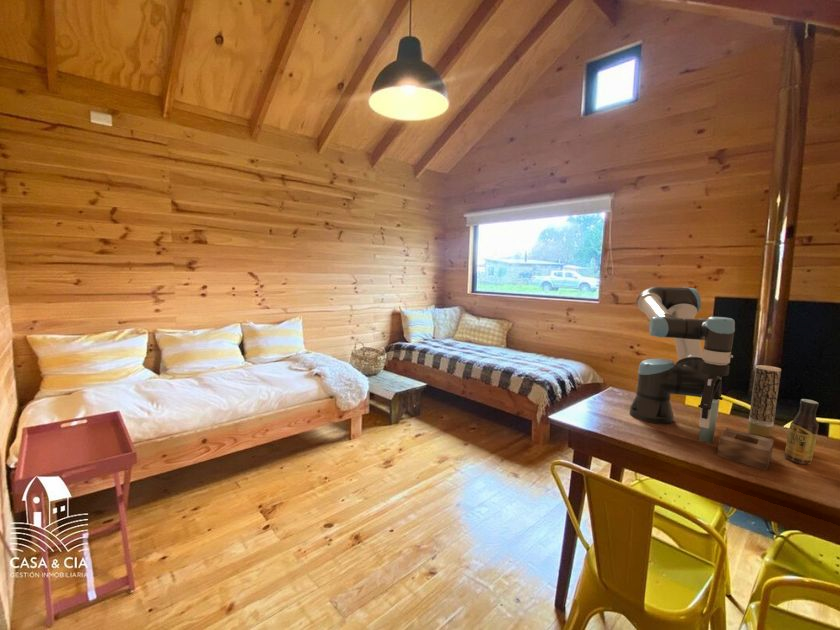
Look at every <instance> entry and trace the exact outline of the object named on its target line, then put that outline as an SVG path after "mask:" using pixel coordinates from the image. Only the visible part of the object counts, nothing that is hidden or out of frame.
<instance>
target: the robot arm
mask: <svg viewBox="0 0 840 630" xmlns="http://www.w3.org/2000/svg"><path fill="white" fill-rule="evenodd" d="M701 300H702V297H701V295H700V292H699V291H698V290H697V289H696V288H693V287H686V286H683V287H681V286H680V287H679V286H678V287H676V286H652V287H648V288H646V289H644V290H642V291H641V292H640V293H639V294H638V295H637V298H636V301H635V302H636V306H637V308H638V310H639V311H641V312H642V313H644V314H645V315H646V317H647V318H648V320H649V321H648V332H649V335H650V336H652V337H657V338H668V339H674V344H675V349H676V355H677V360H676V361H675V362H674V361H673V360H671V359H664V358H647V359H644V360H641V362H640V363H639V366H638V371H637V375H638V376H637V383H636V395H635V396H634V399H633V401H632V403H631V404H630V407H629V414H630V415H631V416H632V417H633V418H635V419H637V420H641V421H642V422H643V421H644V422H648V423H652V424H660V425H669V424H672V423H673V421H674V417H675V416H674V412H673V409H672V404H671V395H678V396H689V397H696V398H699V399H700V398H701V399H700V404H698V405H697V406H698V408H699V409H700V411H699V420H698V427H704V428H708V429H709V424H710V416H711V405H712V401H715V402H717V403H718V408H717V416H716V419H718V415H719V408H720V401H723V396H722V382H723V381H722V379H723V377H727V376H729V374H730V365H729V364H730V363H731V359H733V358H734V355H733V354H732V349H733V343H734V336H735V331H736V328H735V327H736V326H735V325H736V324H735V323H736V322H735V319H733V318H731V317H724V316H710V317H708V318H703V317H702V318H695V317H696V316H697V315H698V313H700V310H701V306H702V302H701ZM701 341H704V344H703V348H702V344H701ZM704 404H706V405H704Z"/></svg>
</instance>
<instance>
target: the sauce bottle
mask: <svg viewBox="0 0 840 630" xmlns="http://www.w3.org/2000/svg"><path fill="white" fill-rule="evenodd" d="M819 403H820V402H817V401H815V400H813V399H807V398H801V399H800V402H799V410H798V412H797V413H796V415H795V417H793V420H792V421H791V423H790V424H789V430H788V435H787V440H786V444H785V445H786V446H785V449H784V457H785V458H786V459H787V460H789V461H791V462H793V463H795V464H799V465H810V464H811V463H812V460H813V457H814V452H815V449H816V448H815V447H816V443H817V440H818V439H817V438H818V434H819V433H818V431H819V427H820V424H819V421H818V420H817V411H818V408H819V406H820V405H819Z"/></svg>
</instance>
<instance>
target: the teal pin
mask: <svg viewBox="0 0 840 630" xmlns="http://www.w3.org/2000/svg"><path fill="white" fill-rule="evenodd" d="M704 405H706V404H704ZM717 408H718V403H717V402H715V401H712V405H711V416H710V424H709V429H708V428H704V427H700V426H699V427H700V428H699V433H698V434H699V435H698V440H700V441H701V442H704V443H707V444H713V443H714V438H715V431H716V430H715V429H716V421H717V418H716V416H717Z"/></svg>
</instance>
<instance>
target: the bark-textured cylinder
mask: <svg viewBox="0 0 840 630" xmlns="http://www.w3.org/2000/svg"><path fill="white" fill-rule="evenodd" d="M781 374H782V368H780V367H777V366H771V365H764V364H762V365H761V364H757V365H755V371H754V376H753V377H754V378H753V386H752V393H751V401H750V408H749V417H748V424H747V431H748V433H749V434H753V435H757V436H761V437H765V438H770V437H771V436H772V435H773V432H774V431H773V430H774V425H775V417H776V410H777V404H778V402H777V401H778V396H779V389H780V382H781V381H780V380H781Z"/></svg>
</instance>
